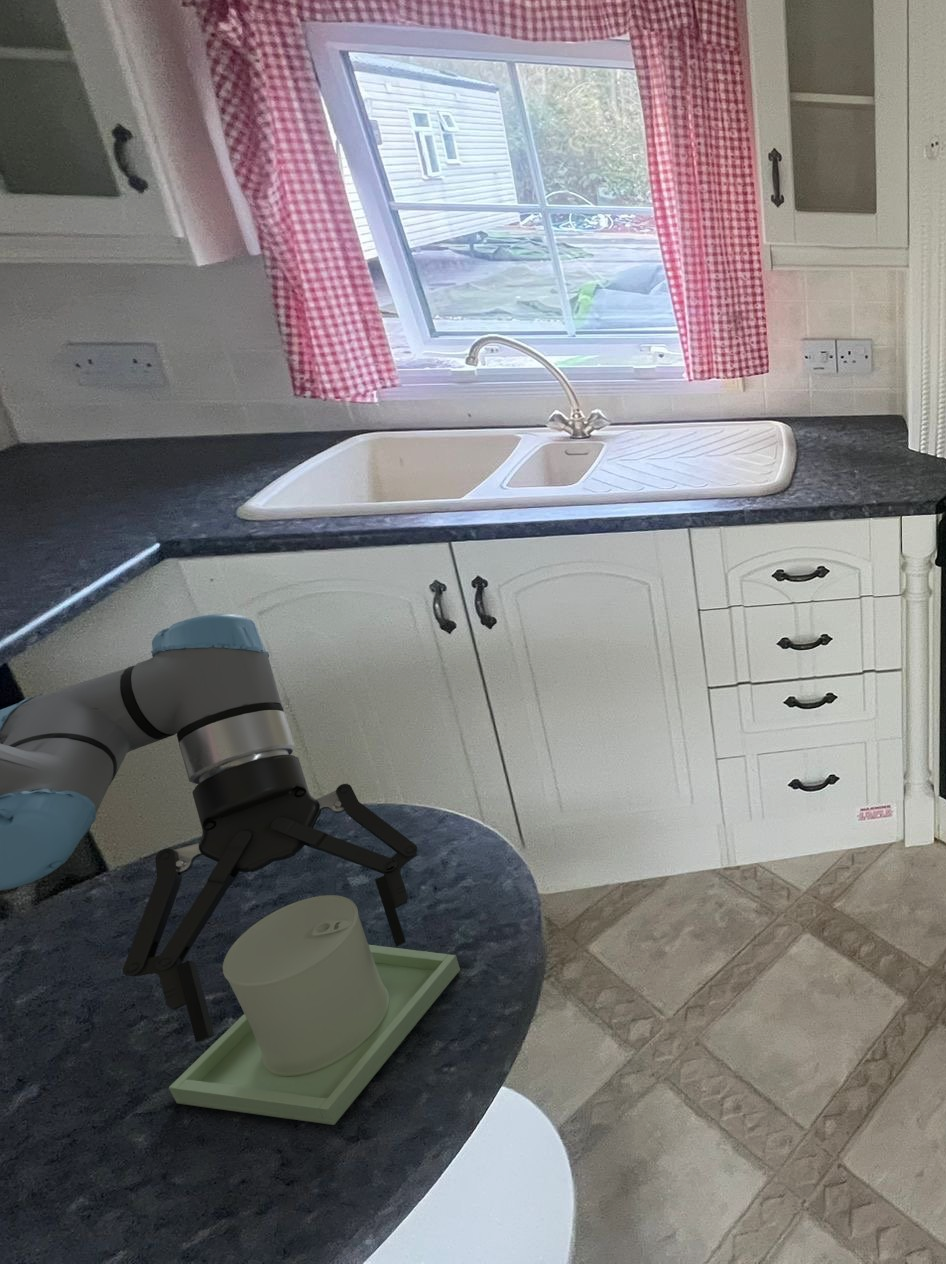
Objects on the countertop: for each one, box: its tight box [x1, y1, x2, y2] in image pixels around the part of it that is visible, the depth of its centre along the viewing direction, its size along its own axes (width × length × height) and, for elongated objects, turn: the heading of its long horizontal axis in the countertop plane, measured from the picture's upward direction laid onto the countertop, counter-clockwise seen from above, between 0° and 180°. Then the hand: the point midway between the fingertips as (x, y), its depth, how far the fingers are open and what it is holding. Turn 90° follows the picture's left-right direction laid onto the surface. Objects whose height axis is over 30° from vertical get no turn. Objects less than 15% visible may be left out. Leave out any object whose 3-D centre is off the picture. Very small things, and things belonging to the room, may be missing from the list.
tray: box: [168, 944, 461, 1126], centre depth 76 cm, size 15×15×2 cm
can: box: [222, 894, 389, 1076], centre depth 74 cm, size 9×9×12 cm
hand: (309, 989), depth 74 cm, fingers open, 13 cm apart
